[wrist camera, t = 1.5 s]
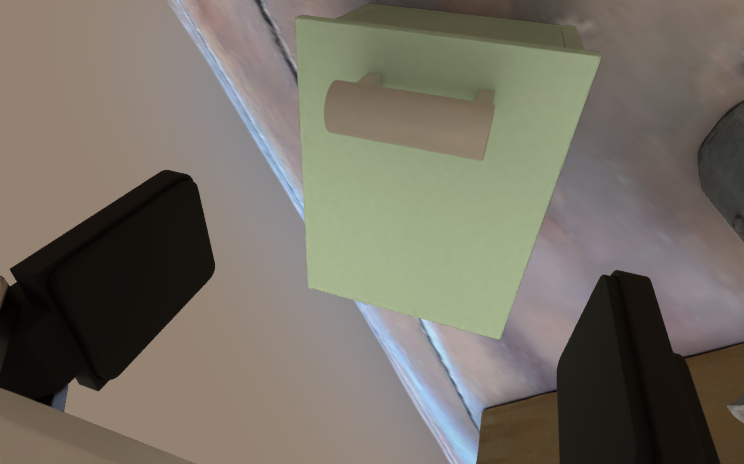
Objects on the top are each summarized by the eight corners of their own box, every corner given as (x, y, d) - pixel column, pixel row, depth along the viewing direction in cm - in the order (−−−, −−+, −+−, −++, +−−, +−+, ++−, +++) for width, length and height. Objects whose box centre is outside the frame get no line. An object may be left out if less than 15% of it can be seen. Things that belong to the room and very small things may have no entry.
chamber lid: (301, 14, 20) (233, 40, 15) (599, 51, 17) (620, 96, 12) (312, 280, 29) (273, 341, 25) (501, 330, 27) (493, 409, 22)
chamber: (368, 2, 28) (303, 32, 20) (576, 26, 25) (592, 72, 17) (359, 206, 37) (312, 279, 30) (509, 239, 34) (501, 330, 27)
